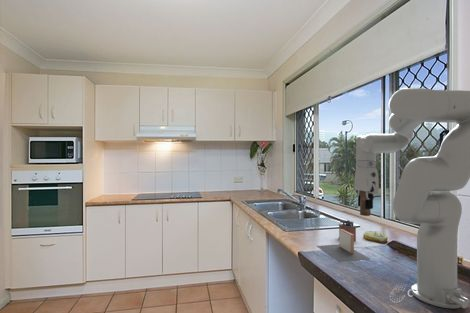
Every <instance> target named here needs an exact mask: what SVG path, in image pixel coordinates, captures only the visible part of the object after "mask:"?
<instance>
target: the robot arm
mask: <svg viewBox="0 0 470 313" xmlns="http://www.w3.org/2000/svg"><path fill="white" fill-rule="evenodd" d="M388 109H389V111H390V113H391V115H390V116H389V118H388V123H389V126H390V128H391V129H392V131H394V132H393V133H369V134H366V135H358V136H357V137H356V140H355V141H356V144H355V146H356V150H355V151H356V152H355V171H354V172H355V173H354V188H353V189H354V191H355V192H356V196H357V207H358V208H360V190H362V191H364V192H366V199H365V209H370V210H373V208H374V200H375V197H376V196H377V195H379V188H380V185H379V183H380V182H379V173H378V169H377V168H376V166H377V162H376V161H377V154H389V153H390V154H394V153H398V151H400V150H402V149H403V148H405V147H407V145H409V144H410V143H411V141H412V138H413V135H414V130H416V128H418V127H419V126H421V124H423V123H456V124H457V125H455V127H454V128H452V129H451V130H450V131H449V132H448V133H447V134H446V135H445V137H444V139H443V140H442V141H441V144H440V147H439V149H438V152H437V153H436V155H434V156H421V157H420V156H418V157H415V158H413V159H411V160H410V161H408V163H407V164H406V165H405V166H404V168H403V171H402V173H401V175H400V178H399V183H398V186H397V188H396V191H395V194H394V198H393V203H392V206H393V207H392V209H393V213H394V215H395V218H396V219H398V220H399V221H400V222H403V223H405V224H411V225H412V224H420V226H419V228H418V230H417V235H416V283H415V284H412V285H411V287H410V293H411V294H412V295H413V296H414V297H415V298H417V299H418V300H420V301H422V302H424V303H425V304H429V305H432V306H435V307H437V308H438V307H440V308H445V309H461V308H462V309H467V307H469V306H468V305H469V304H470V298H467V297H466V296H463V295H462V288H460V287H458V231H459V225H460V220H461V216H462V213H463V212H462V211H463V210H462V209H463V208H462V206H463V205H462V203H461V201H460V199H459V198H458V197H457V195H456V194H454V193H452V191H453V192H454V191H459V190H461V189H463V188H465V187H466V185H468V182H469V181H470V90H459V89H458V90H454V89H453V90H451V89H449V90H446V89H445V90H444V89H443V90H442V89H431V88H424V87H423V88H422V87H421V88H419V87H417V88H416V87H415V88H414V87H413V88H412V87H404V88H400V89H398V90H397V91H395V92H394V93H392V95H391V97H390V98H389V101H388ZM370 190H371V192H370ZM369 193H371V194H370V195H369Z"/></svg>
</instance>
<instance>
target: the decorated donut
mask: <svg viewBox="0 0 470 313" xmlns="http://www.w3.org/2000/svg"><path fill="white" fill-rule="evenodd" d="M362 236H363V239H364V240H367V241H370V242H375V243H379V244H380V243H381V244H384V243H386V242H388V241H389V240H388V237H389V236H388V235H387V234H386V233H384V232H379V231H374V230H369V231H368V230H367V231H364V232H363V235H362Z"/></svg>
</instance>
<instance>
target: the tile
mask: <svg viewBox="0 0 470 313" xmlns="http://www.w3.org/2000/svg"><path fill="white" fill-rule="evenodd" d="M338 229H339V228H338ZM338 240H339V247H341V248H343V249H344V250H346V251H348V252H349V253H351V254H354V250H355V241H354V234H351V233H349V232H347V231H345V230H343V229H339V230H338Z"/></svg>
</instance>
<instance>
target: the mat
mask: <svg viewBox="0 0 470 313" xmlns="http://www.w3.org/2000/svg"><path fill="white" fill-rule="evenodd" d="M316 248H319V250H321V251H322V252H324V253H326V254H327V255H328V256H330V257H331V258H332V259H334V260H336V261H337V262H338V263H341V262H351V261H352V262H357V261H366V260H367V261H369V260H371V258H370V257H368V256H366V255H364V254H363V253H361V252H359V251H357V250H355V249H354V254H351V253H349V252H348V251H346V250H344V249H343V248H341V247H339V244H326V245H325V244H324V245H316Z"/></svg>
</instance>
